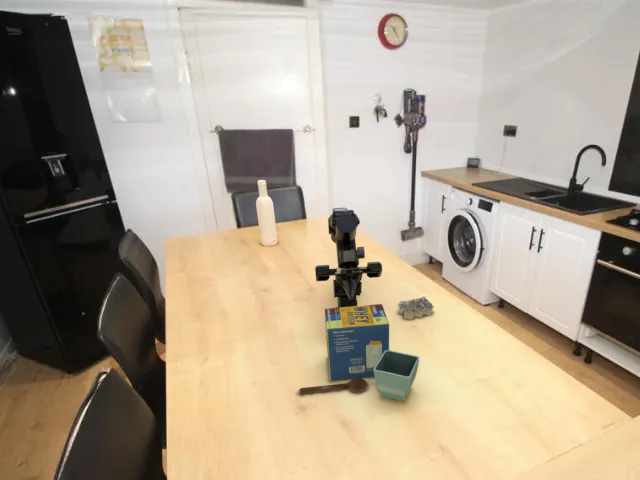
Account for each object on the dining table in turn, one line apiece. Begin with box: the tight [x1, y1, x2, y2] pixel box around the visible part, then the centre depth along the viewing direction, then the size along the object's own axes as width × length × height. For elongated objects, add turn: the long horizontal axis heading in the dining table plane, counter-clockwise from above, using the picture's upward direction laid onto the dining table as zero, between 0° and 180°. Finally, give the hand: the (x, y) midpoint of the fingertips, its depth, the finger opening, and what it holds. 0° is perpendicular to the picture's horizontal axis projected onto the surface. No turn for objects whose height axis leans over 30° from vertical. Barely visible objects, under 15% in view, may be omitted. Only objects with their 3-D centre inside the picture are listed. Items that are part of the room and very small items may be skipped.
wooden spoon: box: [298, 378, 368, 395], centre depth 100 cm, size 16×5×1 cm, turn 100°
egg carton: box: [397, 296, 435, 320], centre depth 134 cm, size 11×8×4 cm
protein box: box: [324, 303, 390, 382], centre depth 105 cm, size 10×15×16 cm
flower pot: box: [373, 349, 420, 402], centre depth 97 cm, size 9×9×9 cm
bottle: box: [255, 179, 279, 247], centre depth 192 cm, size 8×8×30 cm
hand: (351, 299), depth 114 cm, fingers closed
